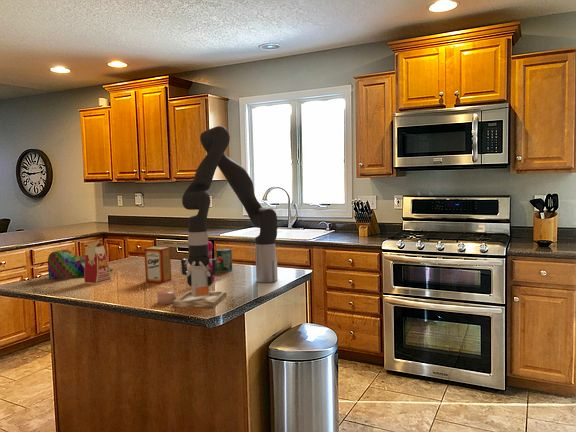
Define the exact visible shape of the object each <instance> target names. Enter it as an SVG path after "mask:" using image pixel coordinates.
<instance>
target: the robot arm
mask: <svg viewBox="0 0 576 432" xmlns="http://www.w3.org/2000/svg"><path fill="white" fill-rule="evenodd" d="M230 138H231V137H230V133H229V131H228V129H227V128H226V127H224V126H223V125H218V126H214V127H211V128H208V129H207V130H204V131H203V132H201V134H200V137H199V139H200V143H201V145H202V148H203V149H204V150H205V152H206V153H207V154H206V156H205V157H204V158H203V159H202V161H201V162H200V163H199V165H198V167H197V169H196V171H195V172H194V177H193V180H192V181H191V182H190V184H189V185H188V187H187V188H186V190H185V191H184V193H183V195H182V198H181V204H182V206H183V208H184V209H185V210H189V211H191V210H192V211H194V210H195V211H196V210H197V211H198V212H197V214H195V215H192V216H189V217H188V219H187V227H188V229H187V231H188V232H187V233H188V234H187V243H188V245H187V246H188V258H185V257H184V258H183V259H181V260H180V263H181V274H182V275H183V276H186V278H187V279H186V280H187V285H188V286H190V287H191V272H192V266H201V267H202V268H203V270H204V271H205V272H206V273H207V275H208V286H209V287H210V286H212V285H213V283H214V282H213V281H214V280H213V275H214V276H215V275H216V274H218V271H217V257H216V258H211V259H210V258H209V251H208V241H209V237H208V226H207V225H208V224H207V221H208V220H207V219H208V214H209V210H210V207H211V206H210V205H211V198H210V193H208V192H207V191H209V190H210V188H211V185H212V182H213V179H214V175H215V172H216V170H217V167H218V169H219V170H220V172H221V173H222V175H223V176H224V178H225V179H226V181H227V183H228V184H229V186H230V187H231V189H232V190H233V192H234V194H235V195H236V197H237V198H238V200H239V201H240V203H241V204H242V205H243V207H244V210H245V212H246V214H247V215H248V218H249V220H250V221H251V223H252V225H253V226H254V227H256V228H257V229H259V234H258V235H257V236H256V237H255V238H254V249H255V250H254V252H255V279H256V282H258V283H262V284H263V283H264V284H266V283H267V284H268V283H276V281H277V280H278V278H279V277H278V259H277V254H276V253H277V252H276V251H277V250H276V246H277V245H276V240H277V236H278V215H277V212H276V211H275V210H274V209H272V208H269V207H263V206H262V205H261V204H260V203H259V201H258V199H257V197H256V194H255V189H254V188H255V187H254V183H253V180H252V179H251V176H250V175H249V174H248V172H247V170H246V169H245V168H244V167H243V166H242V165H241V164H239V163H238V162H236V161H234V160H232V159H231V158H230V157H228V156H227V155H226V154H225V152H226V150H227V147H228V146H229V145H230V141H231V140H230ZM209 262H210V263H211V265H212V271H211V270H210V267H209V266H208V268H206V266H207V265H208V263H209ZM188 263H189V265H190V266H189V269H188V266H187V265H188Z"/></svg>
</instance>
